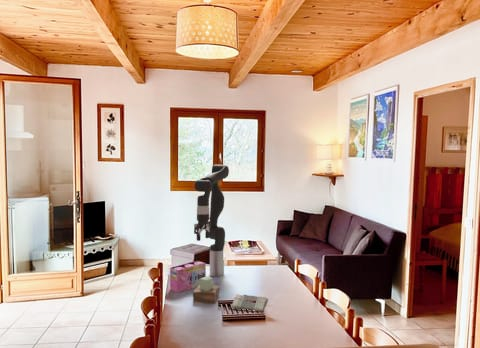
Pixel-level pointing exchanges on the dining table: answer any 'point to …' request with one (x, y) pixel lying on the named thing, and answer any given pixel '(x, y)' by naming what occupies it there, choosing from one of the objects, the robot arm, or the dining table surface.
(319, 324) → the dining table surface
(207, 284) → the sage block
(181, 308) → the dining table surface
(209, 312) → the dining table surface
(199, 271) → the gum box
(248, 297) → the dish towel
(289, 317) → the dining table surface
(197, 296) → the walnut base
